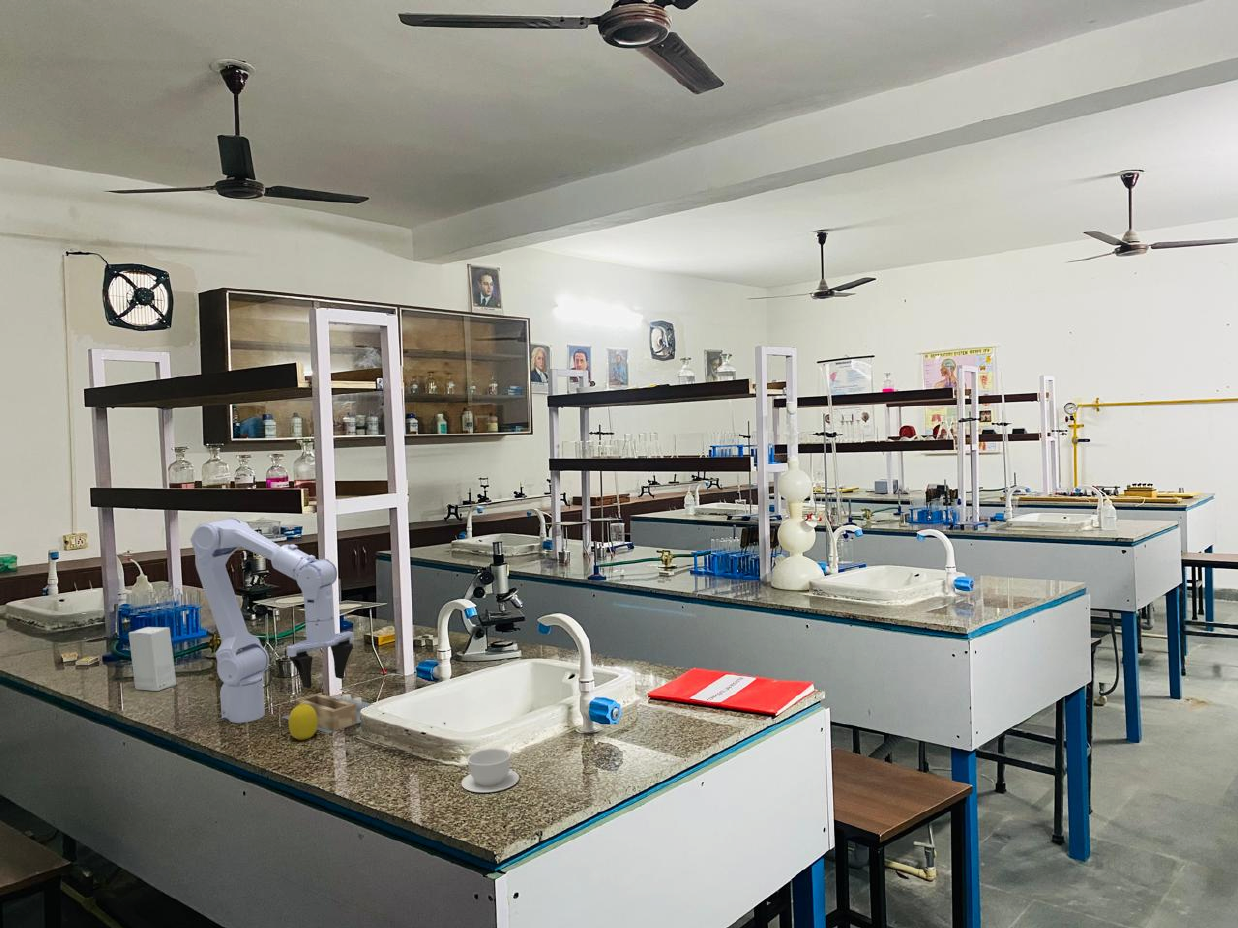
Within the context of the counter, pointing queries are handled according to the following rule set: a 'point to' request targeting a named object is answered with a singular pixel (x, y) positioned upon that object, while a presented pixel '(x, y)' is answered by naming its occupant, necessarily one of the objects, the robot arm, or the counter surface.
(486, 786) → the teacup
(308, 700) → the open wooden crate
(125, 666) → the counter surface
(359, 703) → the board
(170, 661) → the skincare box
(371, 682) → the counter surface
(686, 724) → the counter surface
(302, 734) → the lemon
